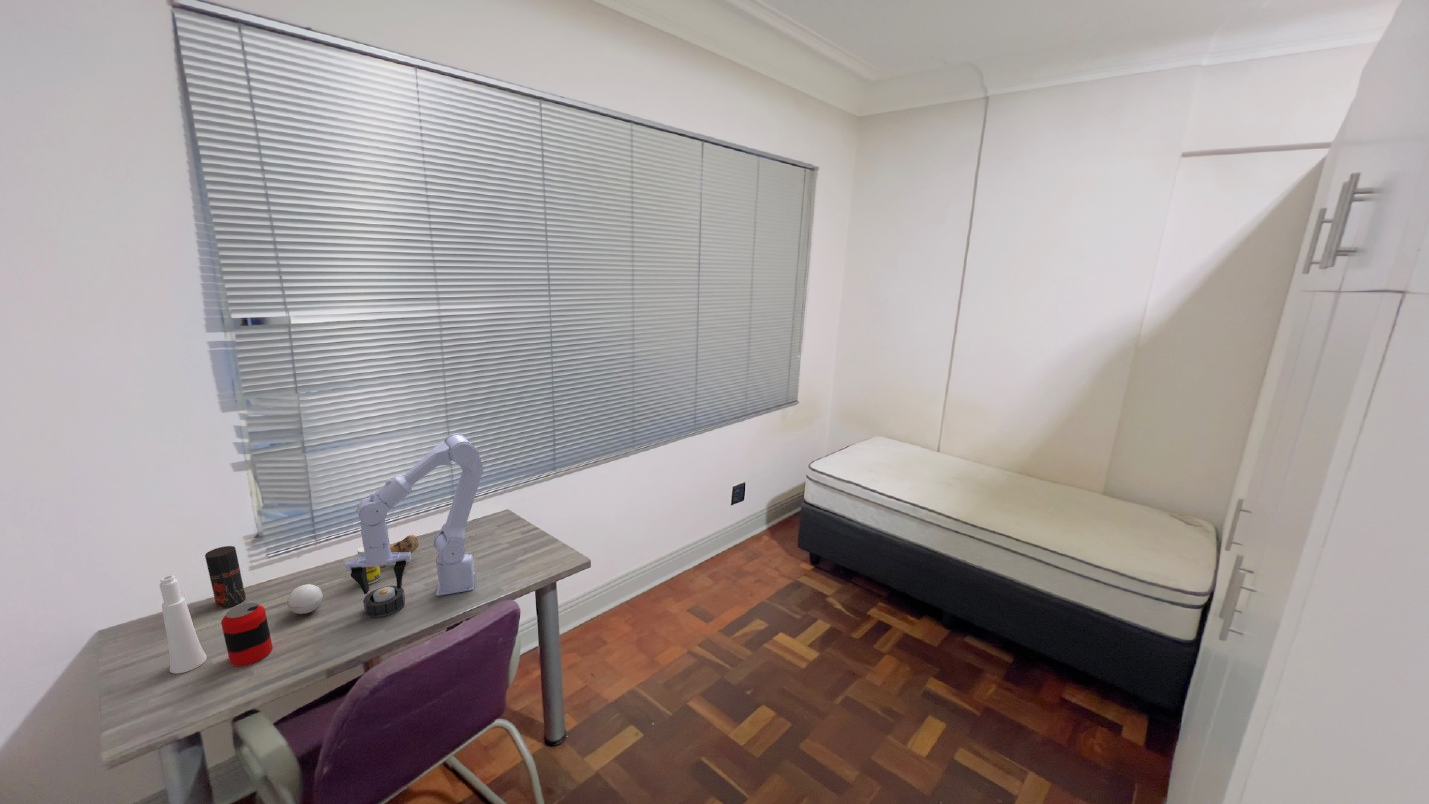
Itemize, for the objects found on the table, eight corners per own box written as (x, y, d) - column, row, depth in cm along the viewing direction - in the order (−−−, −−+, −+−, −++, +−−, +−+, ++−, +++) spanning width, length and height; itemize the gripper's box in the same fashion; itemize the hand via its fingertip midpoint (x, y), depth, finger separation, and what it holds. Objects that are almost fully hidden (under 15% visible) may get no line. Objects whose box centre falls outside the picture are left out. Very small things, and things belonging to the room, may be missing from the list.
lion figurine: (423, 557, 168) (420, 531, 166) (418, 566, 163) (414, 539, 160) (371, 561, 164) (367, 535, 162) (364, 570, 159) (360, 543, 157)
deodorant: (250, 599, 145) (240, 549, 141) (223, 611, 140) (212, 559, 136) (238, 593, 147) (228, 544, 144) (211, 605, 142) (200, 554, 138)
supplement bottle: (358, 587, 151) (353, 555, 148) (358, 578, 155) (353, 546, 153) (381, 582, 154) (377, 549, 151) (380, 573, 158) (376, 541, 156)
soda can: (265, 662, 122) (255, 616, 119) (223, 670, 119) (212, 623, 116) (278, 641, 129) (269, 597, 126) (239, 648, 126) (229, 603, 123)
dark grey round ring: (407, 594, 148) (406, 583, 147) (401, 613, 140) (399, 601, 139) (370, 600, 145) (368, 589, 144) (361, 620, 137) (359, 608, 136)
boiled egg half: (397, 598, 145) (396, 584, 144) (394, 608, 141) (392, 594, 140) (377, 601, 144) (375, 587, 143) (373, 612, 139) (371, 598, 138)
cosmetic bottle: (198, 670, 119) (176, 582, 114) (163, 676, 117) (140, 587, 112) (212, 652, 125) (192, 568, 119) (179, 658, 123) (157, 572, 117)
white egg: (321, 599, 145) (317, 575, 144) (327, 611, 140) (322, 587, 138) (274, 615, 138) (270, 589, 137) (278, 628, 133) (273, 602, 132)
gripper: (410, 531, 144) (416, 576, 147) (347, 540, 139) (355, 586, 142) (405, 543, 138) (412, 590, 141) (339, 553, 133) (348, 601, 136)
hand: (383, 589), depth 141 cm, fingers open, 7 cm apart
